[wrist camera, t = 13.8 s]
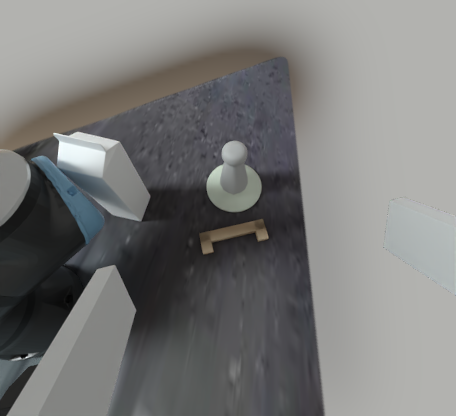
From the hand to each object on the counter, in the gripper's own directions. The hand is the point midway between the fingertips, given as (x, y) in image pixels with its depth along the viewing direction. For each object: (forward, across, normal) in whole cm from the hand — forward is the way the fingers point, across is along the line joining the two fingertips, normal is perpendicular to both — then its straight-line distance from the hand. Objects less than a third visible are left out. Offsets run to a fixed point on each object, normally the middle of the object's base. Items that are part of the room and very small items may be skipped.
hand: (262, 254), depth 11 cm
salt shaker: (+37, +4, -8) cm, 38 cm away
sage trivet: (+37, +4, -9) cm, 39 cm away
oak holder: (+30, +1, -17) cm, 34 cm away
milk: (+38, -18, -8) cm, 43 cm away
